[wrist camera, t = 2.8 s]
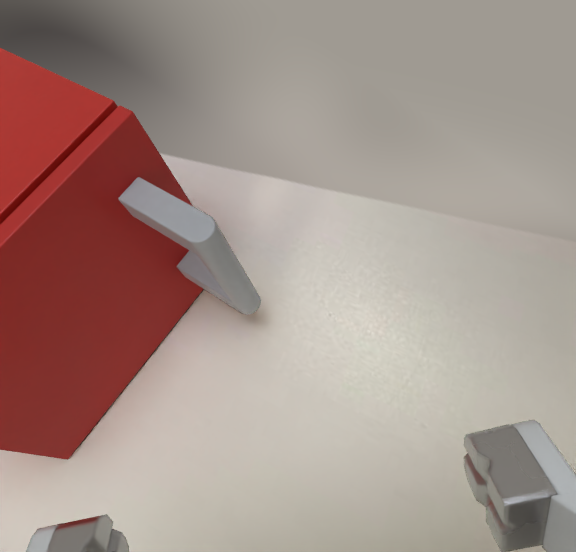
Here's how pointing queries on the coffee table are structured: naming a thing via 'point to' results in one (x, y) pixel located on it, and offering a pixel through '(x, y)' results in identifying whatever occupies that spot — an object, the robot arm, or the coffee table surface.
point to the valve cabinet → (40, 125)
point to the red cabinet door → (99, 284)
